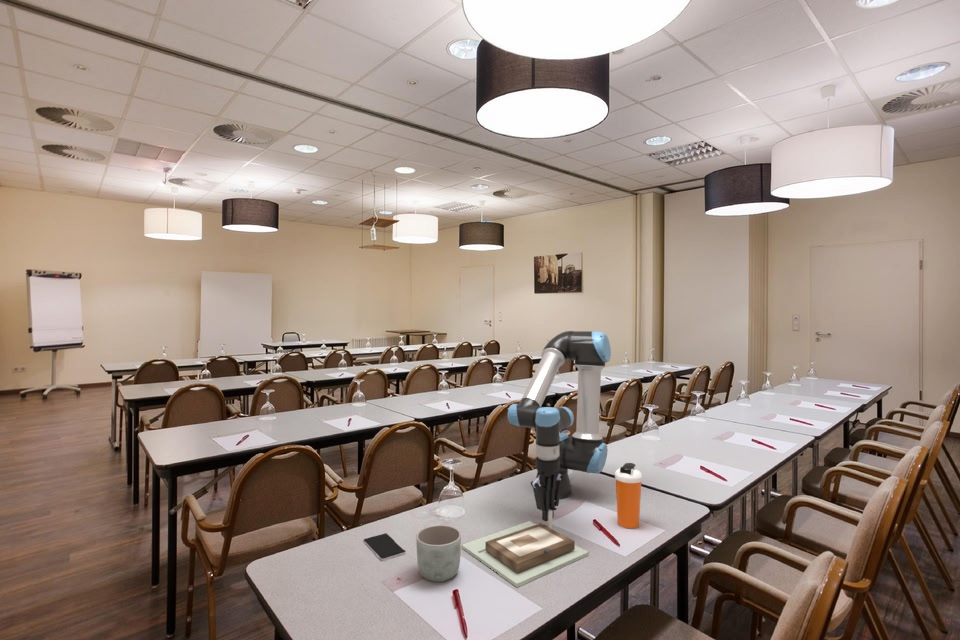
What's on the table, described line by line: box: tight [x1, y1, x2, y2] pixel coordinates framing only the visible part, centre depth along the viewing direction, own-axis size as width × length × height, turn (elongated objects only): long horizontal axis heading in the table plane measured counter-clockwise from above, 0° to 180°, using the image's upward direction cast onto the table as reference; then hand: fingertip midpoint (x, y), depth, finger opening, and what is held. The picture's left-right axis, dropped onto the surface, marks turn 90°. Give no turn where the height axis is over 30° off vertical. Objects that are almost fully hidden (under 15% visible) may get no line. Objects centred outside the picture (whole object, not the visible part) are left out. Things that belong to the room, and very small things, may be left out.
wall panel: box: [461, 520, 589, 588], centre depth 146 cm, size 26×28×1 cm
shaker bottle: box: [614, 462, 643, 529], centre depth 164 cm, size 9×9×20 cm
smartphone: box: [363, 532, 407, 562], centre depth 149 cm, size 8×1×15 cm
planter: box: [415, 524, 462, 583], centre depth 134 cm, size 12×12×11 cm
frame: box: [486, 522, 576, 573], centre depth 143 cm, size 16×22×3 cm
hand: (547, 529), depth 155 cm, fingers closed
